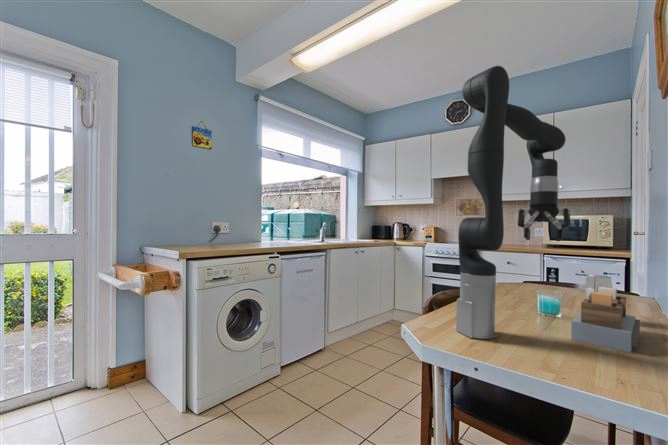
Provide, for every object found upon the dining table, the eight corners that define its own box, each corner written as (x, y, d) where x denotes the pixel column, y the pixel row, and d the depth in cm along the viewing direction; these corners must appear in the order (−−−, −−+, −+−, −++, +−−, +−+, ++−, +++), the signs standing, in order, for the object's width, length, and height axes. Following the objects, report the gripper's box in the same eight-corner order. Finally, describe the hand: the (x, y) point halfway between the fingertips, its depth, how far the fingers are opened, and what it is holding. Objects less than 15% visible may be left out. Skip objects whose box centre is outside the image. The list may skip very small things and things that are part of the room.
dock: (636, 354, 77) (636, 333, 77) (571, 339, 86) (571, 321, 86) (639, 334, 92) (640, 317, 92) (583, 323, 101) (584, 308, 101)
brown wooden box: (620, 330, 79) (620, 308, 79) (581, 322, 85) (581, 302, 85) (625, 315, 94) (626, 297, 94) (591, 309, 99) (591, 292, 99)
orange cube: (611, 311, 82) (611, 296, 82) (591, 308, 85) (591, 293, 85) (612, 308, 85) (612, 294, 85) (593, 305, 88) (593, 291, 88)
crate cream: (615, 304, 91) (615, 290, 91) (597, 301, 94) (597, 288, 94) (616, 301, 94) (616, 288, 94) (599, 299, 97) (599, 286, 97)
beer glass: (617, 323, 102) (618, 278, 102) (595, 323, 102) (596, 277, 102) (599, 317, 109) (600, 274, 109) (579, 316, 109) (580, 274, 109)
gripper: (573, 191, 99) (572, 241, 99) (523, 193, 110) (522, 239, 110) (567, 188, 94) (566, 241, 94) (516, 191, 105) (514, 239, 105)
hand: (542, 240), depth 102 cm, fingers open, 8 cm apart
